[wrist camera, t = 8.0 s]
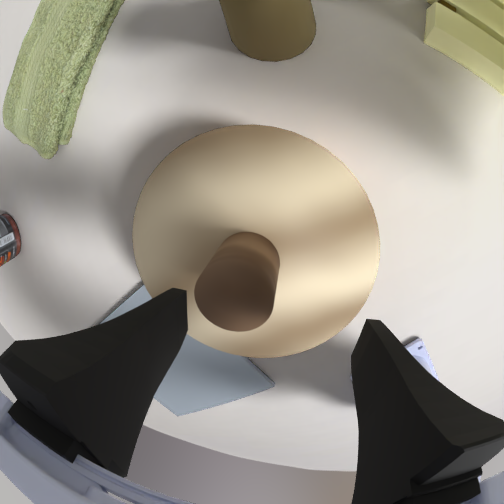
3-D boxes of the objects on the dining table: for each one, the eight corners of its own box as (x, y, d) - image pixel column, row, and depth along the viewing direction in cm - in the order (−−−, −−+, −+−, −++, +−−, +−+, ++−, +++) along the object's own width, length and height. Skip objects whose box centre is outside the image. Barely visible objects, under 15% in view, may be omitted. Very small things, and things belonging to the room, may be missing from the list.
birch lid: (409, 291, 16) (436, 337, 11) (228, 372, 21) (214, 419, 16) (284, 73, 12) (278, 44, 8) (102, 222, 17) (56, 248, 13)
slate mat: (274, 383, 26) (274, 386, 26) (178, 413, 32) (177, 416, 31) (161, 268, 23) (159, 271, 22) (89, 333, 28) (87, 335, 28)
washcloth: (10, 127, 20) (-10, 131, 17) (64, -9, 12) (45, -15, 10) (69, 161, 21) (45, 167, 18) (144, -12, 13) (126, -25, 10)
